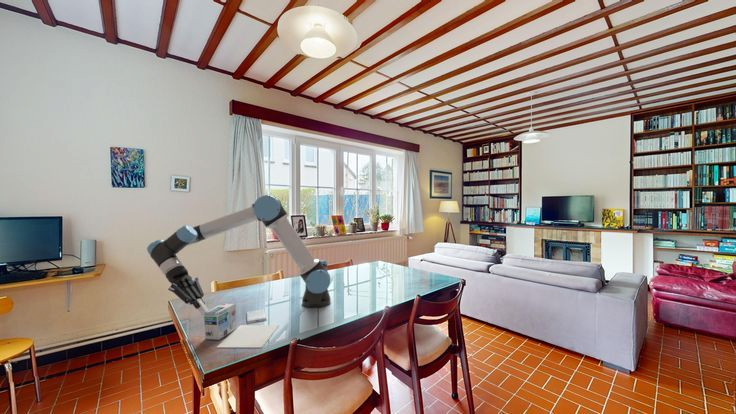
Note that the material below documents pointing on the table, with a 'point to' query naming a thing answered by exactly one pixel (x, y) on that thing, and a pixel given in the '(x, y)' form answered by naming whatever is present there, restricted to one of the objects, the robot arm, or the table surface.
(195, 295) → the robot arm
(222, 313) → the light bulb box
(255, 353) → the table surface
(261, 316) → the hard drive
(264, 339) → the felt mat
